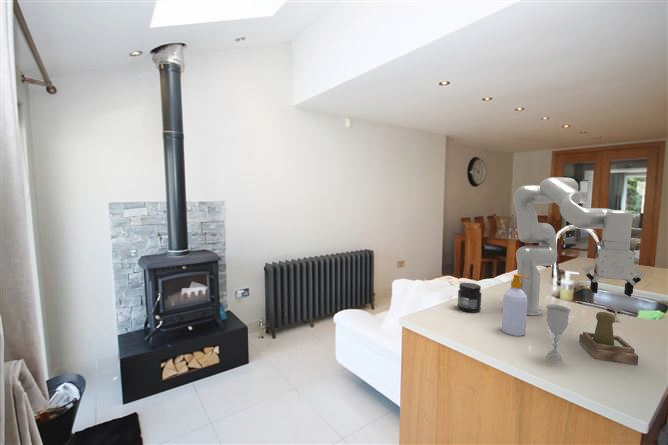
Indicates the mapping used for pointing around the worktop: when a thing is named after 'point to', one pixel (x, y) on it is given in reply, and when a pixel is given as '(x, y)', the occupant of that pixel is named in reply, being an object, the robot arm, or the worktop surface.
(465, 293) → the supplement container
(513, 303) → the soap bottle
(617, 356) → the brown wooden flat frame
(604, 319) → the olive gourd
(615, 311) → the soupspoon
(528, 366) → the worktop surface
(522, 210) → the robot arm
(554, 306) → the chalice
